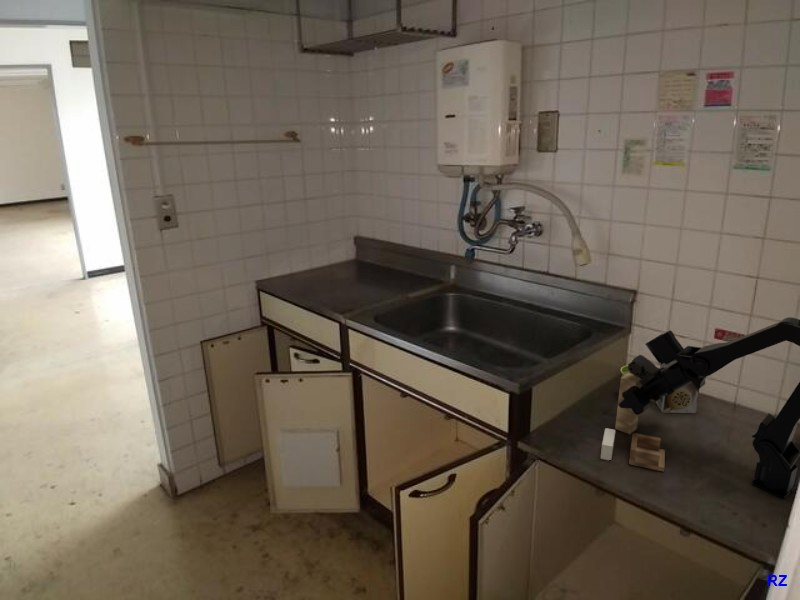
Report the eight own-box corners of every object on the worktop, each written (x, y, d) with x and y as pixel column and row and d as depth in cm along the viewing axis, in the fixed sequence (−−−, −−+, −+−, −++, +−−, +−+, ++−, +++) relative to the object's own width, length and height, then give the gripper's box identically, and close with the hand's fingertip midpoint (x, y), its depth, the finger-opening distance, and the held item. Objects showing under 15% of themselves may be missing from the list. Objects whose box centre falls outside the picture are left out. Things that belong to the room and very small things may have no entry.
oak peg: (636, 428, 147) (643, 377, 142) (629, 434, 144) (636, 382, 140) (622, 423, 150) (628, 372, 145) (615, 428, 147) (620, 377, 142)
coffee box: (687, 402, 159) (695, 351, 154) (696, 414, 153) (705, 360, 148) (654, 401, 160) (661, 350, 155) (662, 413, 154) (669, 360, 149)
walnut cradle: (664, 453, 136) (666, 439, 134) (663, 471, 129) (666, 456, 127) (630, 446, 139) (632, 432, 137) (628, 464, 132) (630, 449, 131)
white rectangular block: (613, 443, 140) (615, 430, 139) (610, 460, 133) (612, 446, 132) (603, 441, 141) (605, 428, 140) (600, 458, 134) (602, 444, 133)
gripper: (667, 340, 143) (621, 366, 154) (634, 361, 131) (587, 388, 142) (695, 377, 140) (646, 401, 151) (663, 402, 128) (613, 426, 139)
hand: (623, 403), depth 146 cm, fingers closed on oak peg, 4 cm apart
